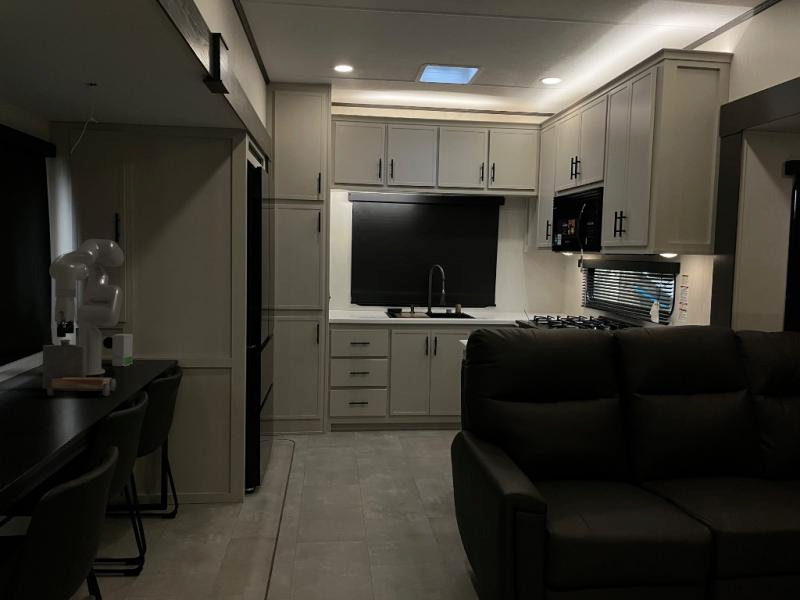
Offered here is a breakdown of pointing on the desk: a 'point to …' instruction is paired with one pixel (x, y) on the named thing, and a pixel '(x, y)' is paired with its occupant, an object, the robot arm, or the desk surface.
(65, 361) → the grey upright notched slab
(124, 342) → the skincare box
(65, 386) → the dolly
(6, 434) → the desk surface
